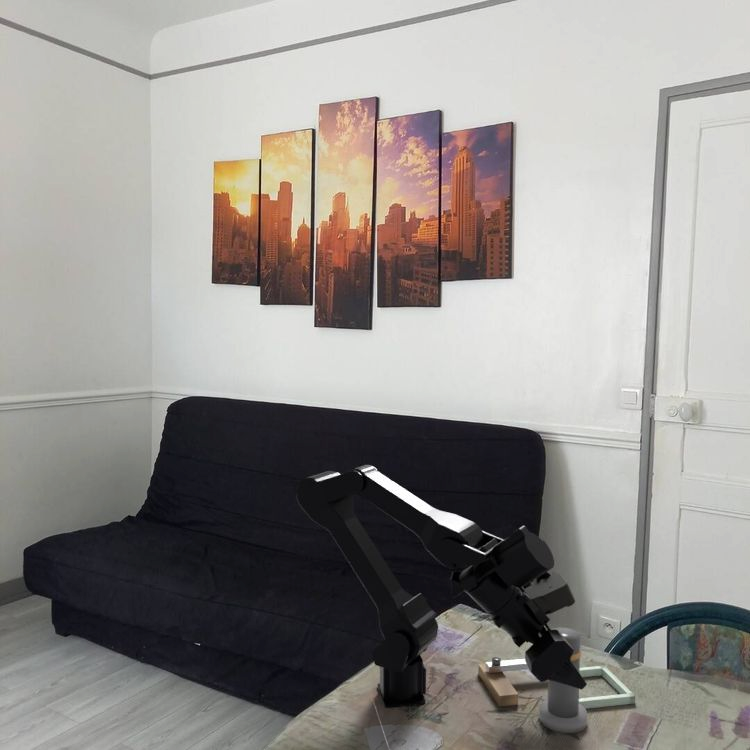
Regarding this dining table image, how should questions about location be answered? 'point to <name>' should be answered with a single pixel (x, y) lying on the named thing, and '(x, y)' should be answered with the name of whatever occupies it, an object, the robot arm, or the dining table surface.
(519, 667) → the lever
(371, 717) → the dining table surface
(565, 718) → the plug
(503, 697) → the latch rail
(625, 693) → the pale green u-shaped bracket
